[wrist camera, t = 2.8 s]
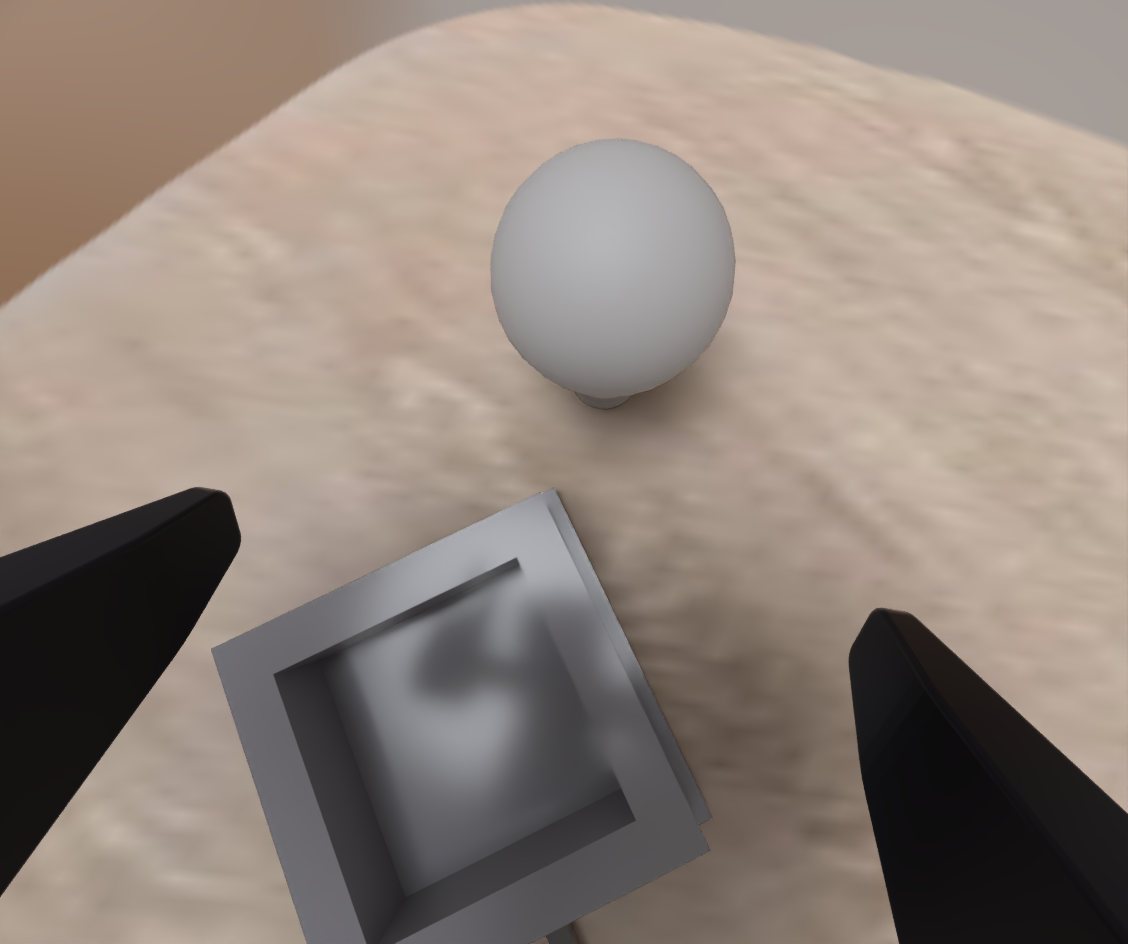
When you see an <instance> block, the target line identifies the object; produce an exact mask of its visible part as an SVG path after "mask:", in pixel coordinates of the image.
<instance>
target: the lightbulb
mask: <svg viewBox="0 0 1128 944" xmlns="http://www.w3.org/2000/svg"><path fill="white" fill-rule="evenodd" d="M735 263H736V260H735V252H734V243H733V237H732V232H731V228H730V225H729V222H728V219H727V216H726V213H725V210H724V208H723V206H722V204H721V202H720V201H719V199H718V198H717V196H716V194H715V193H714V191H713V189H712V188H711V187H710V186H709V185H708V183H707V182H706V181H705V180H704V179H703V178H702V177H701V176H700V175H699V174H698V172H697V171H696V170H695V169H694V168H693V167H692V166H690V165H689V164H688V163H686V162H685V161H684V160H682V159H681V158H679V157H678V156H677V155H675V154H673V153H671V152H669V151H667V150H665V149H662V148H660V147H658V146H655V145H651V144H648V143H644V142H640V141H637V140H628V139H605V140H596V141H592V142H588V143H584V144H580V145H576V146H574V147H572V148H569V149H567V150H565V151H563V152H560V153H558V154H557V155H555V156H554V157H552V158H551V159H549V160H548V161H546V162H545V163H543V164H542V165H541V166H540V167H538V168H537V169H536V170H535V171H534V172H533V173H532V174H531V175H530V176H529V177H528V178H527V179H526V180H525V181H524V182H523V183H522V184H521V185H520V186H519V188H518V189H517V190H516V192H515V193H514V195H513V196H512V198H511V199H510V201H509V202H508V204H507V206H506V208H505V211H504V213H503V215H502V218H501V220H500V223H499V225H498V228H497V231H496V234H495V238H494V243H493V249H492V254H491V292H492V296H493V300H494V304H495V308H496V312H497V315H498V318H499V321H500V323H501V325H502V327H503V329H504V331H505V333H506V335H507V337H508V339H509V341H510V342H511V343H512V345H513V346H514V347H515V349H516V350H517V351H518V352H519V354H520V355H521V356H522V358H524V359H525V360H526V361H527V362H528V363H529V364H530V365H531V366H533V367H534V368H535V369H536V370H537V371H538V372H540V373H541V374H542V375H543V376H544V377H546V378H547V379H549V380H551V381H553V382H555V383H556V384H558V385H560V386H562V387H564V388H566V389H569V390H572V391H575V393H576V394H577V396H578V397H579V398H580V399H581V400H582V401H583V402H584V403H586V404H588V405H590V406H592V407H595V408H601V409H606V408H613V407H616V406H618V405H621V404H622V403H624V402H625V401H626V400H628V398H629V397H630V396H631V395H632V394H636V393H640V392H644V391H648V390H651V389H653V388H655V387H657V386H659V385H661V384H663V383H666V382H668V381H669V380H671V379H672V378H674V377H675V376H676V375H678V374H679V373H680V372H682V371H683V370H685V369H686V368H687V367H689V366H690V365H691V364H693V363H694V362H695V361H696V360H697V359H698V358H699V356H700V355H701V354H702V353H703V352H704V351H705V350H706V349H707V348H708V347H709V345H710V343H711V342H712V340H713V338H714V337H715V335H716V333H717V332H718V330H719V328H720V326H721V324H722V322H723V320H724V318H725V316H726V313H727V310H728V307H729V304H730V301H731V298H732V294H733V284H734V274H735Z"/></svg>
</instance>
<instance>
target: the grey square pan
mask: <svg viewBox="0 0 1128 944" xmlns="http://www.w3.org/2000/svg"><path fill="white" fill-rule="evenodd" d="M211 651H212V654H213V657H214V661H215V664H216V667H217V670H218V673H219V676H220V679H221V682H222V685H223V688H224V691H225V694H226V697H227V700H228V703H229V706H230V710H231V713H232V716H233V719H234V722H235V725H236V728H237V731H238V734H239V737H240V740H241V743H242V746H243V749H244V752H245V756H246V759H247V762H248V765H249V768H250V771H251V774H252V777H253V780H254V783H255V786H256V789H257V792H258V795H259V798H260V802H261V805H262V808H263V811H264V814H265V817H266V820H267V823H268V826H269V829H270V832H271V835H272V838H273V841H274V844H275V848H276V851H277V854H278V857H279V860H280V863H281V866H282V869H283V872H284V875H285V878H286V881H287V884H288V887H289V890H290V894H291V897H292V900H293V903H294V906H295V909H296V912H297V915H298V918H299V921H300V924H301V927H302V930H303V933H304V936H305V940H306V943H307V944H530V943H532V942H534V941H536V940H538V939H540V938H542V937H544V936H546V937H547V939H548V942H549V944H580V943H579V941H578V939H577V936H576V934H575V931H574V929H573V927H572V924H571V922H573V921H575V920H577V919H579V918H581V917H583V916H585V915H586V914H588V913H590V912H592V911H594V910H596V909H598V908H600V907H602V906H604V905H606V904H608V903H610V902H612V901H614V900H616V899H618V898H619V897H621V896H623V895H625V894H627V893H629V892H631V891H633V890H635V889H637V888H639V887H641V886H643V885H645V884H647V883H649V882H651V881H652V880H654V879H656V878H658V877H660V876H662V875H664V874H666V873H668V872H670V871H672V870H674V869H676V868H678V867H680V866H682V865H684V864H685V863H687V862H689V861H691V860H693V859H695V858H697V857H699V856H701V855H703V854H705V853H707V852H709V851H710V849H709V847H708V844H707V842H706V840H705V838H704V836H703V834H702V831H701V829H700V827H699V825H700V824H702V823H704V822H705V821H707V820H709V819H711V818H712V815H711V813H710V811H709V809H708V807H707V805H706V803H705V801H704V799H703V797H702V795H701V793H700V790H699V788H698V786H697V784H696V782H695V780H694V778H693V776H692V774H691V772H690V770H689V768H688V765H687V763H686V761H685V759H684V757H683V755H682V753H681V751H680V749H679V747H678V745H677V743H676V740H675V738H674V736H673V734H672V732H671V730H670V728H669V726H668V724H667V722H666V720H665V718H664V715H663V713H662V711H661V709H660V707H659V705H658V703H657V701H656V699H655V697H654V695H653V693H652V690H651V688H650V686H649V684H648V682H647V680H646V678H645V676H644V674H643V672H642V670H641V668H640V665H639V663H638V661H637V659H636V657H635V655H634V653H633V651H632V649H631V647H630V645H629V643H628V640H627V638H626V636H625V634H624V632H623V630H622V628H621V626H620V624H619V622H618V620H617V618H616V615H615V613H614V611H613V609H612V607H611V605H610V603H609V601H608V599H607V597H606V595H605V593H604V590H603V588H602V586H601V584H600V582H599V580H598V578H597V576H596V574H595V572H594V570H593V568H592V565H591V563H590V561H589V559H588V557H587V555H586V553H585V551H584V549H583V547H582V545H581V542H580V540H579V538H578V536H577V534H576V532H575V530H574V528H573V526H572V524H571V522H570V520H569V517H568V515H567V513H566V511H565V509H564V507H563V505H562V503H561V501H560V499H559V497H558V495H557V492H556V490H555V488H552V489H550V490H548V491H546V492H544V493H542V494H541V492H540V493H538V494H536V495H533V496H531V497H529V498H527V499H525V500H523V501H521V502H519V503H517V504H515V505H512V506H510V507H508V508H506V509H504V510H502V511H500V512H498V513H496V514H494V515H491V516H489V517H487V518H485V519H483V520H481V521H479V522H477V523H475V524H472V525H470V526H468V527H466V528H464V529H462V530H460V531H458V532H456V533H454V534H451V535H449V536H447V537H445V538H443V539H441V540H439V541H437V542H435V543H433V544H430V545H428V546H426V547H424V548H422V549H420V550H418V551H416V552H414V553H412V554H409V555H407V556H405V557H403V558H401V559H399V560H397V561H395V562H393V563H391V564H388V565H386V566H384V567H382V568H380V569H378V570H376V571H374V572H372V573H370V574H367V575H365V576H363V577H361V578H359V579H357V580H355V581H353V582H351V583H349V584H346V585H344V586H342V587H340V588H338V589H336V590H334V591H332V592H330V593H328V594H325V595H323V596H321V597H319V598H317V599H315V600H313V601H311V602H309V603H307V604H304V605H302V606H300V607H298V608H296V609H294V610H292V611H290V612H288V613H286V614H283V615H281V616H279V617H277V618H275V619H273V620H271V621H269V622H267V623H265V624H262V625H260V626H258V627H256V628H254V629H252V630H250V631H248V632H246V633H243V634H241V635H239V636H237V637H235V638H233V639H231V640H229V641H227V642H225V643H222V644H220V645H218V646H216V647H214V648H212V649H211Z"/></svg>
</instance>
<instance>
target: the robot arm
mask: <svg viewBox="0 0 1128 944" xmlns="http://www.w3.org/2000/svg"><path fill="white" fill-rule="evenodd" d="M240 543H241V533H240V529H239V526H238V523H237V519H236V516H235V512H234V509H233V505H232V502H231V499H230V497H229V496H228V495H227V494H226V493H225V492H223V491H220V490H215V489H209V488H203V487H194V488H190V489H188V490H185V491H182V492H179V493H177V494H174V495H171V496H168V497H166V498H163V499H160V500H157V501H154V502H152V503H149V504H146V505H143V506H141V507H138V508H135V509H132V510H130V511H127V512H124V513H121V514H119V515H116V516H113V517H110V518H108V519H105V520H102V521H99V522H96V523H94V524H91V525H88V526H85V527H83V528H80V529H77V530H74V531H72V532H69V533H66V534H63V535H61V536H58V537H55V538H52V539H50V540H47V541H44V542H41V543H38V544H36V545H33V546H30V547H27V548H25V549H22V550H19V551H16V552H14V553H11V554H8V555H5V556H3V557H0V897H1V895H2V894H3V893H4V891H5V890H6V889H7V887H8V886H9V884H10V883H11V882H12V880H13V879H14V878H15V876H16V875H17V873H18V872H19V871H20V869H21V868H22V867H23V865H24V864H25V862H26V861H27V860H28V858H29V857H30V855H31V854H32V853H33V851H34V850H35V849H36V847H37V846H38V844H39V843H40V842H41V840H42V839H43V838H44V836H45V835H46V833H47V832H48V831H49V829H50V828H51V827H52V825H53V824H54V822H55V821H56V820H57V818H58V817H59V815H60V814H61V813H62V811H63V810H64V809H65V807H66V806H67V804H68V803H69V802H70V800H71V799H72V798H73V796H74V795H75V793H76V792H77V791H78V789H79V788H80V787H81V785H82V784H83V782H84V781H85V780H86V778H87V777H88V775H89V774H90V773H91V771H92V770H93V769H94V767H95V766H96V764H97V763H98V762H99V760H100V759H101V758H102V756H103V755H104V753H105V752H106V751H107V749H108V748H109V747H110V745H111V744H112V742H113V741H114V740H115V738H116V737H117V736H118V734H119V733H120V731H121V730H122V729H123V727H124V726H125V724H126V723H127V722H128V720H129V719H130V718H131V716H132V715H133V713H134V712H135V711H136V709H137V708H138V707H139V705H140V704H141V702H142V701H143V700H144V698H145V697H146V696H147V694H148V693H149V691H150V690H151V689H152V687H153V686H154V684H155V683H156V682H157V680H158V679H159V678H160V676H161V675H162V673H163V672H164V671H165V669H166V668H167V667H168V665H169V664H170V662H171V661H172V660H173V658H174V657H175V655H176V654H177V653H178V651H179V650H180V648H181V647H182V645H183V644H184V642H185V641H186V639H187V637H188V636H189V634H190V633H191V631H192V629H193V628H194V626H195V625H196V623H197V621H198V619H199V618H200V616H201V614H202V613H203V611H204V609H205V607H206V606H207V604H208V602H209V601H210V599H211V597H212V595H213V594H214V592H215V590H216V589H217V587H218V585H219V583H220V582H221V580H222V578H223V577H224V575H225V573H226V571H227V570H228V568H229V566H230V565H231V563H232V561H233V559H234V558H235V556H236V554H237V552H238V550H239V547H240ZM849 672H850V681H851V690H852V699H853V708H854V717H855V726H856V735H857V743H858V752H859V760H860V767H861V775H862V780H863V785H864V790H865V795H866V800H867V804H868V809H869V813H870V817H871V822H872V826H873V831H874V835H875V840H876V844H877V848H878V853H879V857H880V862H881V866H882V870H883V875H884V879H885V884H886V888H887V892H888V897H889V901H890V906H891V910H892V914H893V919H894V923H895V928H896V932H897V936H898V941H899V944H1128V813H1127V812H1126V811H1125V810H1123V809H1122V808H1121V807H1120V806H1119V805H1118V804H1117V803H1116V802H1115V801H1114V800H1113V799H1112V798H1110V797H1109V796H1108V795H1107V794H1106V793H1105V792H1104V791H1103V790H1102V789H1101V788H1100V787H1099V786H1098V785H1096V784H1095V783H1094V782H1093V781H1092V780H1091V779H1090V778H1089V777H1088V776H1087V775H1086V774H1085V773H1083V772H1082V771H1081V770H1080V769H1079V768H1078V767H1077V766H1076V765H1075V764H1074V763H1073V762H1072V761H1070V760H1069V759H1068V758H1067V757H1066V756H1065V755H1064V754H1063V753H1062V752H1061V751H1060V750H1059V749H1057V748H1056V747H1055V746H1054V745H1053V744H1052V743H1051V742H1050V741H1049V740H1048V739H1047V738H1046V737H1045V736H1043V735H1042V734H1041V733H1040V732H1039V731H1038V730H1037V729H1036V728H1035V727H1034V726H1033V725H1032V724H1030V723H1029V722H1028V721H1027V720H1026V719H1025V718H1024V717H1023V716H1022V715H1021V714H1020V713H1019V712H1017V711H1016V710H1015V709H1014V708H1013V707H1012V706H1011V705H1010V704H1009V703H1008V702H1007V701H1006V700H1005V699H1003V698H1002V697H1001V696H1000V695H999V694H998V693H997V692H996V691H995V690H994V689H993V688H992V687H990V686H989V685H988V684H987V683H986V682H985V681H984V680H983V679H982V678H981V677H980V676H979V675H977V674H976V673H975V672H974V671H973V670H972V669H971V668H970V667H969V666H968V665H967V664H966V663H964V662H963V661H962V660H961V659H960V658H959V657H958V656H957V655H956V654H955V653H954V652H953V651H952V650H950V649H949V648H948V647H947V646H946V645H945V644H944V643H943V642H942V641H941V640H940V639H939V638H937V637H936V636H935V635H934V634H933V633H932V632H931V631H930V630H929V629H928V628H927V627H926V626H924V625H923V624H922V623H921V622H920V621H919V620H918V619H917V618H916V617H914V616H913V615H912V614H910V613H908V612H904V611H898V610H893V609H887V608H877V609H875V610H873V611H872V612H871V614H870V615H869V617H868V618H867V620H866V622H865V624H864V625H863V627H862V629H861V631H860V632H859V634H858V636H857V638H856V640H855V641H854V643H853V645H852V647H851V650H850V653H849Z"/></svg>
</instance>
